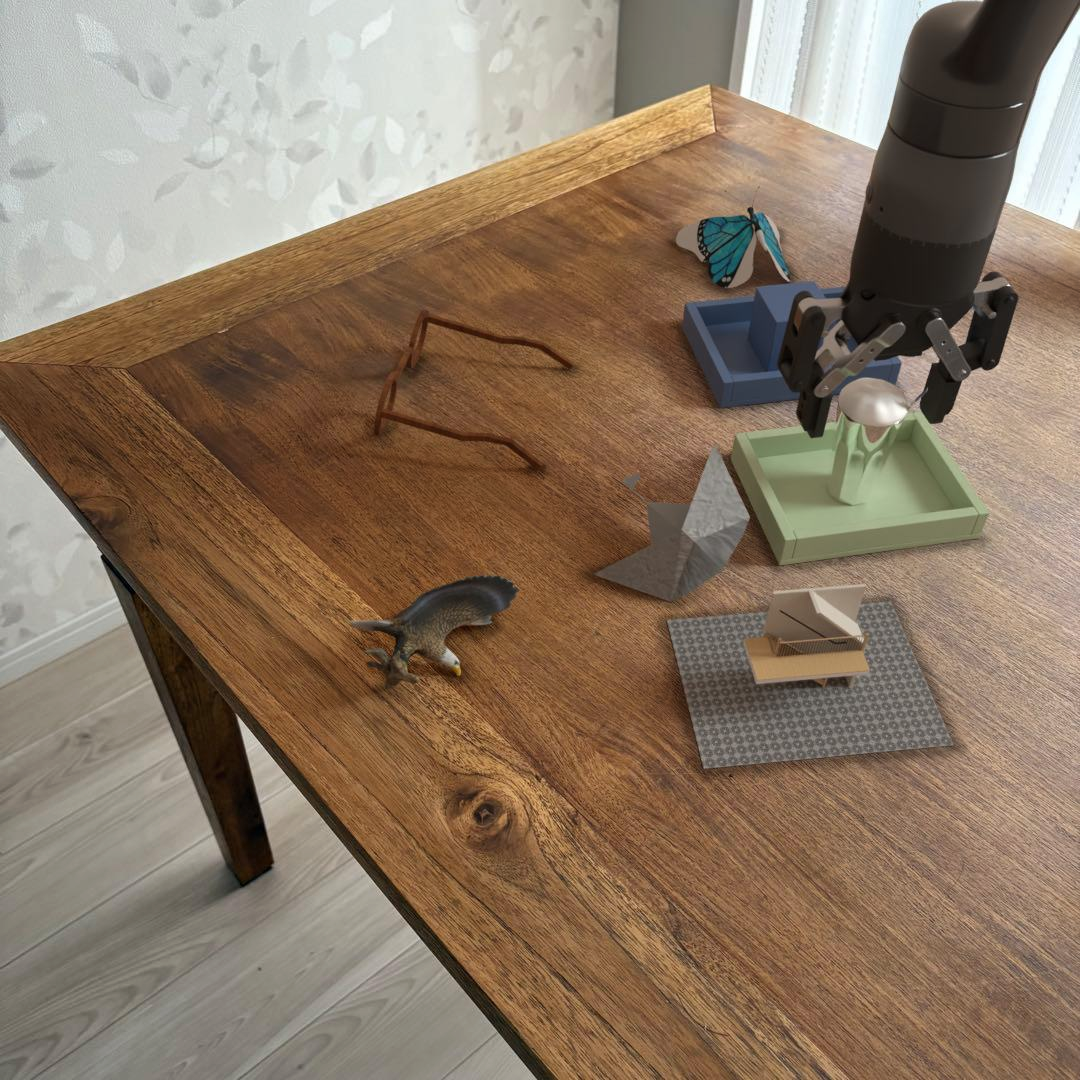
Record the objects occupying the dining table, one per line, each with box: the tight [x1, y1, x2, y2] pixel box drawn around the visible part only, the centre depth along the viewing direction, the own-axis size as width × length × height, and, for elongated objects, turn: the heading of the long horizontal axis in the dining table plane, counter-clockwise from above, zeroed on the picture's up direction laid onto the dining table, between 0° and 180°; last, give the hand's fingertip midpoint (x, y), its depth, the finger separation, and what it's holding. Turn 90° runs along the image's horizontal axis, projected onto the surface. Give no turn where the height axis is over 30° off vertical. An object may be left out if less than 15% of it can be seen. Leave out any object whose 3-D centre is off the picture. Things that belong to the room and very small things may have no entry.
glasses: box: [373, 308, 575, 470], centre depth 85 cm, size 13×13×5 cm
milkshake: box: [827, 378, 928, 505], centre depth 76 cm, size 4×5×10 cm
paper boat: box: [592, 442, 751, 603], centre depth 74 cm, size 12×6×9 cm
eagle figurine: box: [348, 574, 520, 690], centre depth 68 cm, size 8×7×9 cm
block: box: [748, 280, 835, 372], centre depth 90 cm, size 5×5×5 cm
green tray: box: [730, 411, 990, 566], centre depth 79 cm, size 15×11×2 cm
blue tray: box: [681, 285, 903, 409], centre depth 91 cm, size 15×11×2 cm
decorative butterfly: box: [675, 186, 792, 289], centre depth 100 cm, size 10×6×10 cm
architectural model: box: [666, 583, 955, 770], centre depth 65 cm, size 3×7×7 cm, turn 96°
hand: (871, 423), depth 75 cm, fingers open, 8 cm apart
